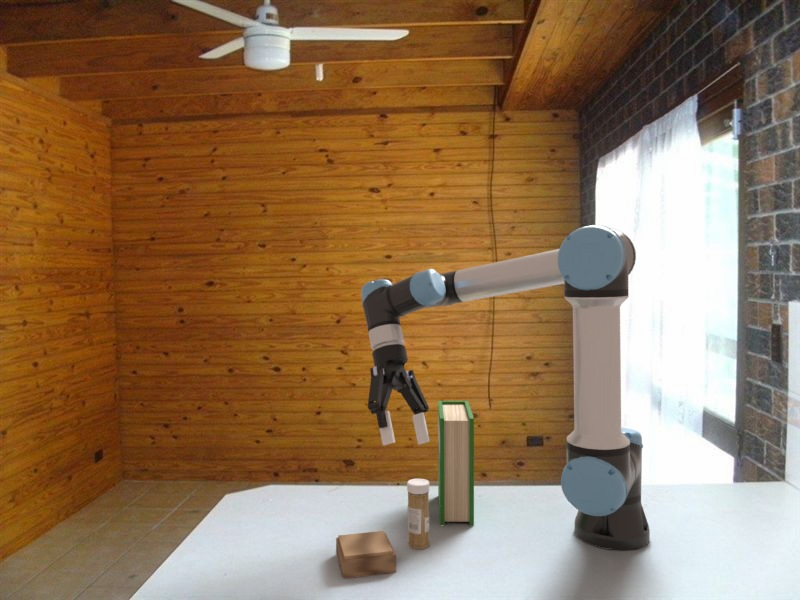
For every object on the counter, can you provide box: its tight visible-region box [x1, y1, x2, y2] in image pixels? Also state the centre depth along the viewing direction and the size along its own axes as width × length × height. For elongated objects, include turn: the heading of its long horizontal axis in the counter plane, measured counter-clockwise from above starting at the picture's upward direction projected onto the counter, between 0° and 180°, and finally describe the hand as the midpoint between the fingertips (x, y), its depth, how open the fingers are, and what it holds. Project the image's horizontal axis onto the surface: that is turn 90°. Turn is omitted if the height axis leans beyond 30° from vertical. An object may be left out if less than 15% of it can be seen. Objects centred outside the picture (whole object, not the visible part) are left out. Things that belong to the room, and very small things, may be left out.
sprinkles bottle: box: [406, 477, 431, 550], centre depth 130 cm, size 5×5×14 cm
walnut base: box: [335, 530, 397, 580], centre depth 123 cm, size 10×10×4 cm
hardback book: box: [437, 400, 475, 526], centre depth 148 cm, size 18×7×24 cm, turn 178°
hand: (407, 443), depth 134 cm, fingers open, 13 cm apart
